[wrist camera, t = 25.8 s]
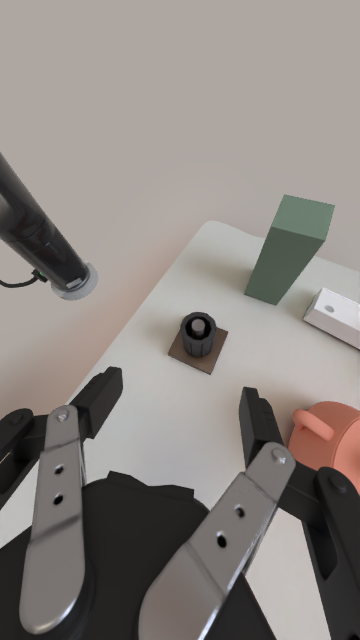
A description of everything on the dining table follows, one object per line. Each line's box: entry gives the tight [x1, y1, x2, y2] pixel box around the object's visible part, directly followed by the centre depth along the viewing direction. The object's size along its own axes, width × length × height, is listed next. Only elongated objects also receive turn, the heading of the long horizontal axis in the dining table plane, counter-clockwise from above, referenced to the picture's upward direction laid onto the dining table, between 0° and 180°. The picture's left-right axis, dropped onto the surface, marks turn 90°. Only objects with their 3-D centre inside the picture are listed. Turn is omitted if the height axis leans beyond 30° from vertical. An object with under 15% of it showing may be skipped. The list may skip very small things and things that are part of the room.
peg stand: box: [168, 319, 228, 375], centre depth 36 cm, size 9×9×10 cm
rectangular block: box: [244, 195, 335, 305], centre depth 36 cm, size 7×7×18 cm
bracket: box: [303, 287, 360, 349], centre depth 36 cm, size 13×7×8 cm, turn 54°
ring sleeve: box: [180, 312, 217, 357], centre depth 36 cm, size 6×6×8 cm
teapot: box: [288, 401, 360, 495], centre depth 26 cm, size 13×20×12 cm
